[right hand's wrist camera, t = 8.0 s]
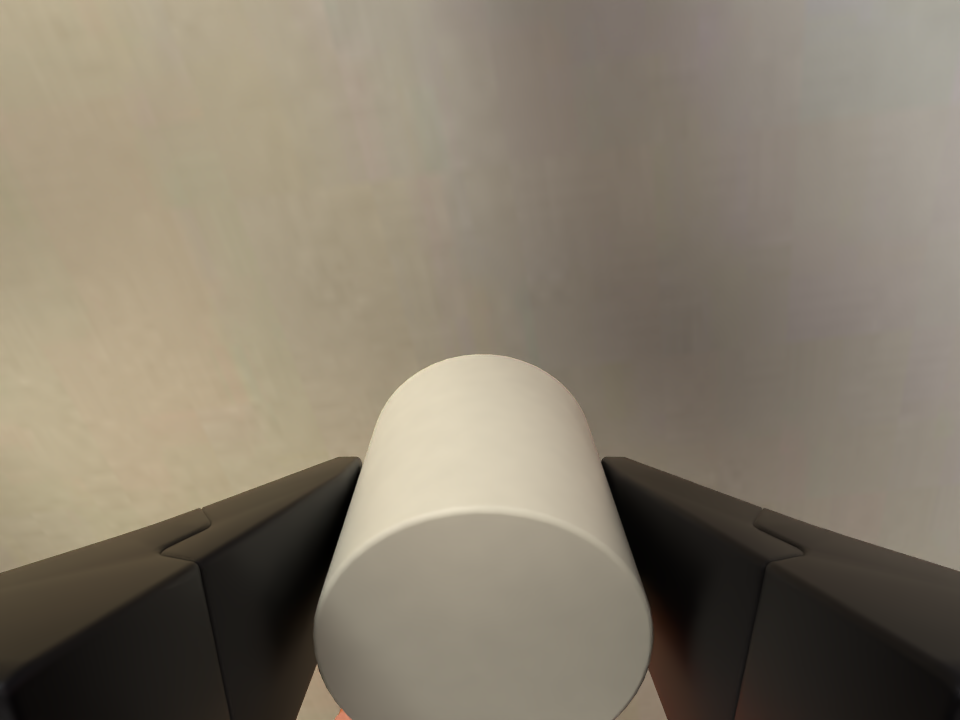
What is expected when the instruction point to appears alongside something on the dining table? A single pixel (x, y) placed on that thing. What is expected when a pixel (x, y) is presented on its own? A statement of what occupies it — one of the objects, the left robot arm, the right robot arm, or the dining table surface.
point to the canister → (482, 560)
